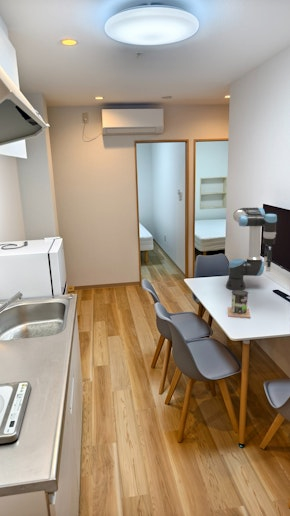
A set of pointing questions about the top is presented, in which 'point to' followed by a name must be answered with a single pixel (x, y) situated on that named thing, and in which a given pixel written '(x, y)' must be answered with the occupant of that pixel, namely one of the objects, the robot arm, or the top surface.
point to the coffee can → (239, 302)
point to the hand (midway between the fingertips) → (266, 268)
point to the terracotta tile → (238, 315)
